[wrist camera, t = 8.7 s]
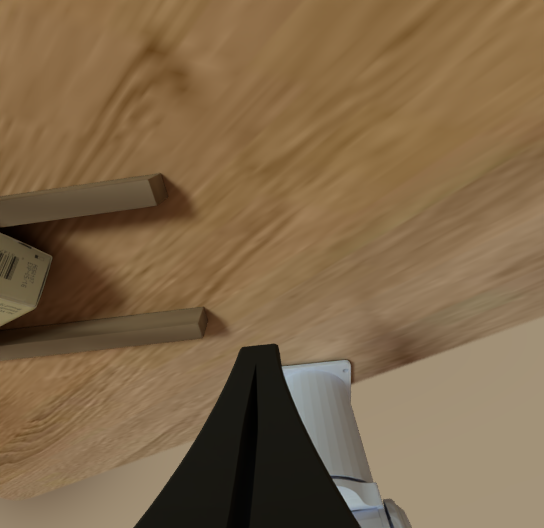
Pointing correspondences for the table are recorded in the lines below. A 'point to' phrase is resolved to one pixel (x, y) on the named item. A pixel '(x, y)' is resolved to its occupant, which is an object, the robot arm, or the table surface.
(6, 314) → the skincare box
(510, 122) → the table surface
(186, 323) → the cradle
